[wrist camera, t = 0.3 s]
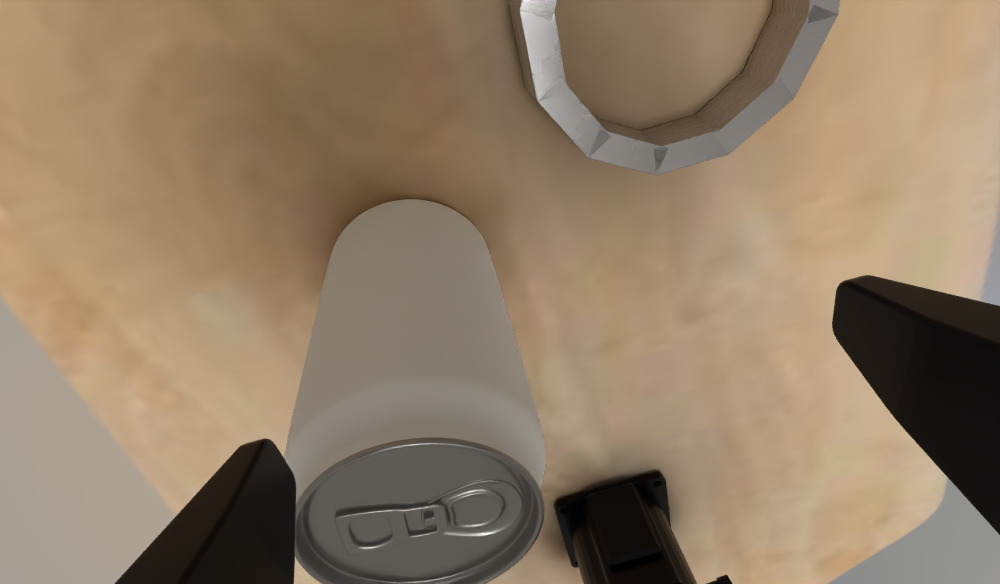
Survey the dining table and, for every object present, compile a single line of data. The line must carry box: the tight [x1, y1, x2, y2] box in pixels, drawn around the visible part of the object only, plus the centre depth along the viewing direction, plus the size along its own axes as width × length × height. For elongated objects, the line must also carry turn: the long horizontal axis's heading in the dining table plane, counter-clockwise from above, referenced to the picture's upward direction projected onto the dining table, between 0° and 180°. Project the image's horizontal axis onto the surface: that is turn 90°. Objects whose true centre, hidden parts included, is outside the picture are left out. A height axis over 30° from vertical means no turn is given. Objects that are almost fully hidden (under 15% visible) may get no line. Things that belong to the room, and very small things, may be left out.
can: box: [284, 199, 546, 584], centre depth 17 cm, size 6×6×12 cm
